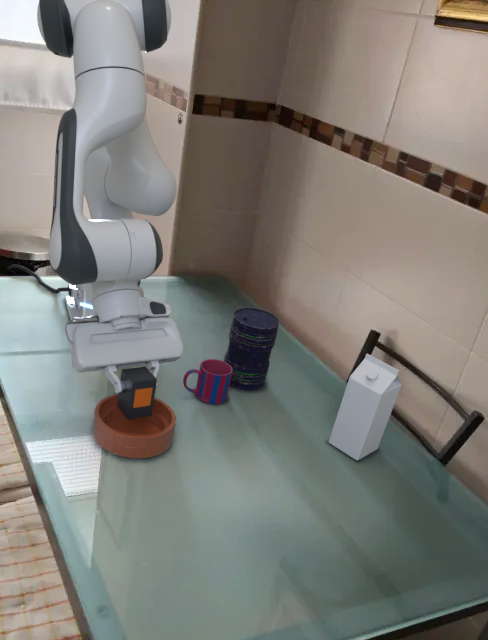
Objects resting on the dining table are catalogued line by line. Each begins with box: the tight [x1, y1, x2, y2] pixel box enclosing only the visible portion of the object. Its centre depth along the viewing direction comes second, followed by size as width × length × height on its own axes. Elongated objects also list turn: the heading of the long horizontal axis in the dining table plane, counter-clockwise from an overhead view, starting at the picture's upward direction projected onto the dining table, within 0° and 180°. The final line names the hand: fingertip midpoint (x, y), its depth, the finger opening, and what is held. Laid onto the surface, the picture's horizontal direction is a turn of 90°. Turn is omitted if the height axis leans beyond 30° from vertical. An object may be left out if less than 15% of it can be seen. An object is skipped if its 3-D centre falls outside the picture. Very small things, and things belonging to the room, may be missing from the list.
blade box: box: [117, 366, 158, 420], centre depth 114 cm, size 5×5×8 cm
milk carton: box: [328, 353, 402, 461], centre depth 124 cm, size 7×7×19 cm
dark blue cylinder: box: [223, 307, 280, 392], centre depth 140 cm, size 10×10×15 cm
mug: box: [182, 358, 233, 405], centre depth 133 cm, size 7×10×7 cm
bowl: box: [92, 393, 177, 459], centre depth 118 cm, size 14×14×5 cm
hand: (137, 390), depth 113 cm, fingers closed on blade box, 4 cm apart
